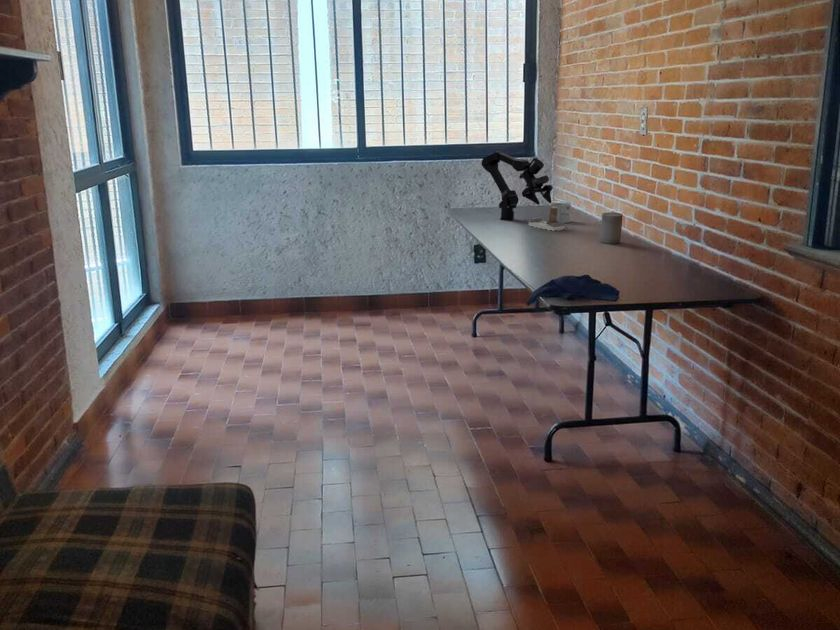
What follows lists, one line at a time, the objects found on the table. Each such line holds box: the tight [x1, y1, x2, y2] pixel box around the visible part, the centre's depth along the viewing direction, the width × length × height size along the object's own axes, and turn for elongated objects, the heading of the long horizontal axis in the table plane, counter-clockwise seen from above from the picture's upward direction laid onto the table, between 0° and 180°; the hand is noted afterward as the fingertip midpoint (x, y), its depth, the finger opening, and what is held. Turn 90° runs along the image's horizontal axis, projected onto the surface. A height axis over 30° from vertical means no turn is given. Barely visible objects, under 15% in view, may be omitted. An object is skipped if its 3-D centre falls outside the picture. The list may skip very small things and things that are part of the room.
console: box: [528, 216, 566, 232], centre depth 396 cm, size 17×9×4 cm, turn 39°
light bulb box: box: [550, 200, 572, 223], centre depth 416 cm, size 11×7×11 cm, turn 84°
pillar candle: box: [599, 211, 623, 245], centre depth 362 cm, size 10×10×15 cm
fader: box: [546, 203, 558, 225], centre depth 392 cm, size 4×5×11 cm
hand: (545, 203), depth 395 cm, fingers open, 9 cm apart
